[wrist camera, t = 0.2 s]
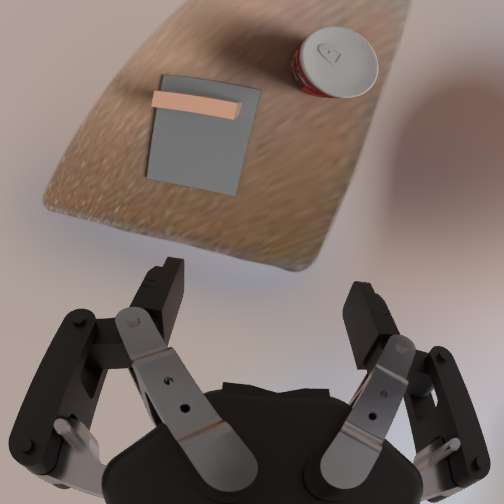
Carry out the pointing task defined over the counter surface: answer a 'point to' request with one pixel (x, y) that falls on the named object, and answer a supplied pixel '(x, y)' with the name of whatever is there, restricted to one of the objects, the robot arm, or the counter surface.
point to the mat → (202, 138)
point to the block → (196, 103)
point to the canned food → (334, 63)
